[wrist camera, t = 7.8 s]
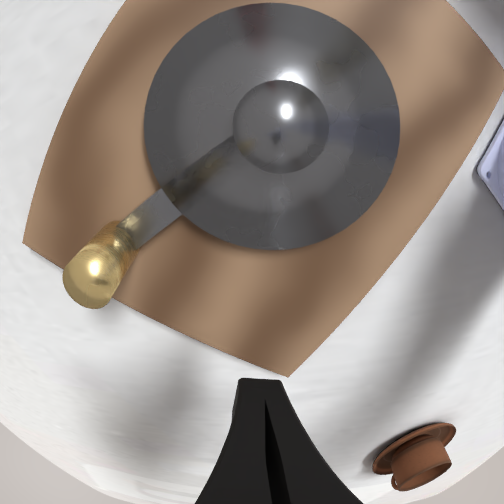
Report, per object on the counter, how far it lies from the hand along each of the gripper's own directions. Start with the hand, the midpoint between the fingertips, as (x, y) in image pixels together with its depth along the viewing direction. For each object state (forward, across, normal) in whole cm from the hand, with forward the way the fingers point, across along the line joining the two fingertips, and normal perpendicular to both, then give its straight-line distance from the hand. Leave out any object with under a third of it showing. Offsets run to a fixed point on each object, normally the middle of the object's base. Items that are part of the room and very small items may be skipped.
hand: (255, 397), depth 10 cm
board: (+9, 0, -8) cm, 12 cm away
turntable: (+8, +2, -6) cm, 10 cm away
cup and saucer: (+10, -25, +24) cm, 36 cm away
